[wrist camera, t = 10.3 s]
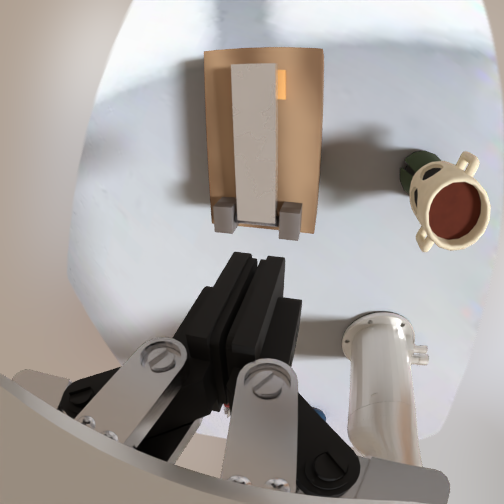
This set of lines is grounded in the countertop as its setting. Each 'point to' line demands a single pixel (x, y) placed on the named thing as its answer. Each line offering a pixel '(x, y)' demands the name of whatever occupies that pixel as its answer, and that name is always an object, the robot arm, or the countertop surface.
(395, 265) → the countertop surface
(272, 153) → the latch lever
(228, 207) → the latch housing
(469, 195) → the character mug
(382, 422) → the robot arm
